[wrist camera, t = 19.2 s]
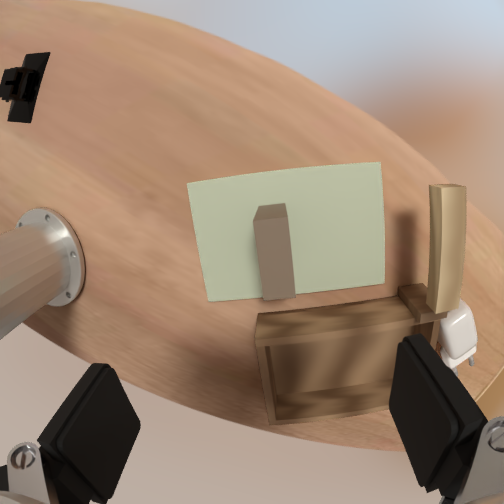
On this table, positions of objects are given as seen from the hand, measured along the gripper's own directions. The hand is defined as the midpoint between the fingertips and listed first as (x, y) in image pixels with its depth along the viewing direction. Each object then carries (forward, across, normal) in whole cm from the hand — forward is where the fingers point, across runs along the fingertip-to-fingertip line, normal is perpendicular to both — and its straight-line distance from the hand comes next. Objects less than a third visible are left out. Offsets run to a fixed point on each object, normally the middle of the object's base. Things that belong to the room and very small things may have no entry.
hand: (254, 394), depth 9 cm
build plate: (+22, +26, -23) cm, 42 cm away
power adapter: (+20, -21, +14) cm, 32 cm away
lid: (+21, -3, 0) cm, 21 cm away
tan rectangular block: (+14, -15, +1) cm, 20 cm away
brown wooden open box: (+20, -8, +14) cm, 26 cm away
